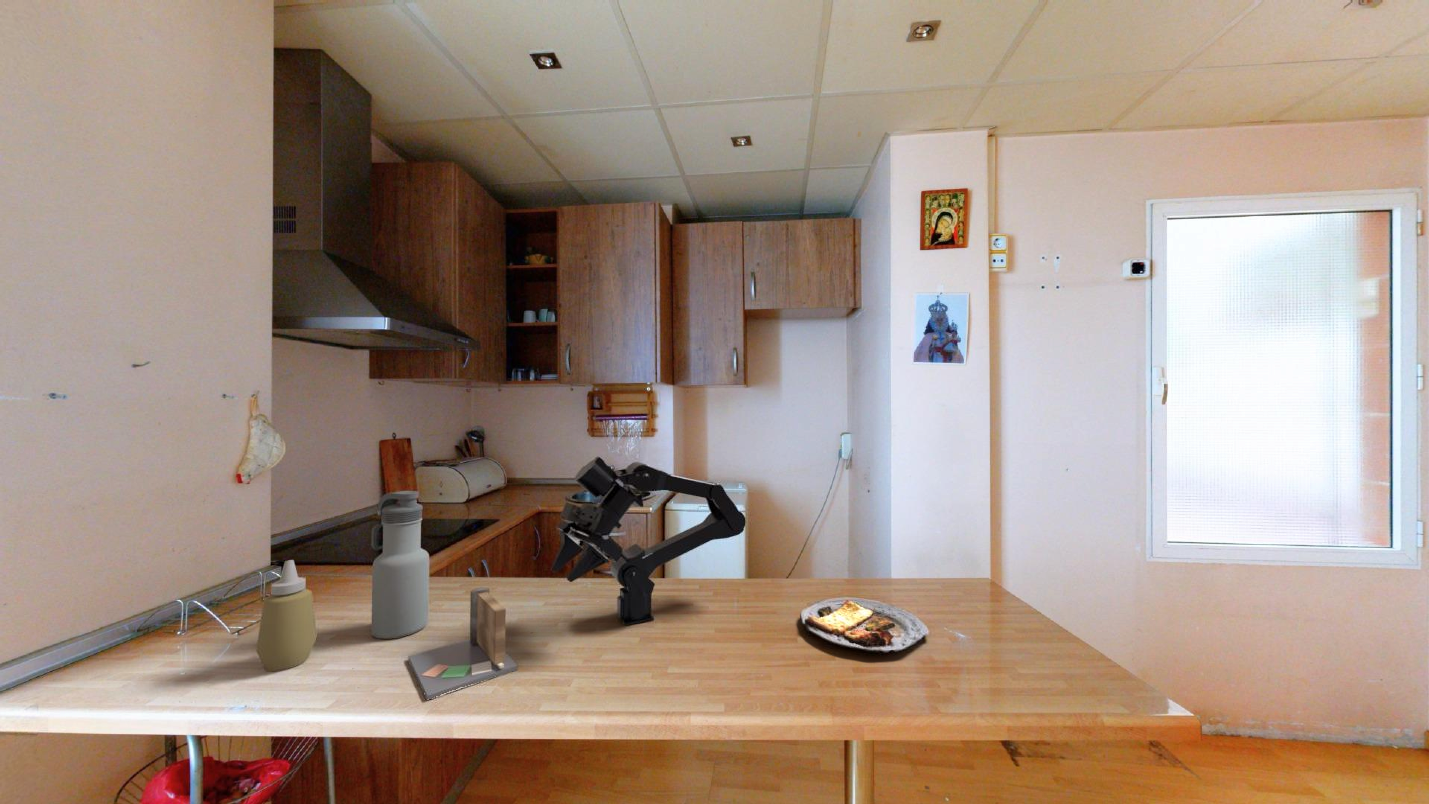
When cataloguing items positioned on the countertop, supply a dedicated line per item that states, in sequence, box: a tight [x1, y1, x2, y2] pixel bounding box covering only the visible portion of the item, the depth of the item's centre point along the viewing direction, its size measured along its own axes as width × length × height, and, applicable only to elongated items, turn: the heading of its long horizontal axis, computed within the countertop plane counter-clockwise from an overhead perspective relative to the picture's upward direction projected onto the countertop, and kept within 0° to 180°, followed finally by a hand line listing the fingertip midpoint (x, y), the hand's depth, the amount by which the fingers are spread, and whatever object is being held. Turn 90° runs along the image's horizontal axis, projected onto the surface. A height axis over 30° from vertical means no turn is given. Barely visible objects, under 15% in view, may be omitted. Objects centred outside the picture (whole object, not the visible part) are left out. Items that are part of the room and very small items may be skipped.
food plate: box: [799, 597, 929, 655], centre depth 99 cm, size 25×23×4 cm
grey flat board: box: [407, 638, 518, 700], centre depth 84 cm, size 16×14×1 cm
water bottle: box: [370, 490, 430, 640], centre depth 98 cm, size 10×10×28 cm
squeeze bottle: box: [255, 559, 318, 672], centre depth 85 cm, size 8×8×18 cm
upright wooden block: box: [469, 587, 507, 669], centre depth 87 cm, size 15×3×9 cm, turn 42°
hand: (560, 575), depth 94 cm, fingers open, 7 cm apart
